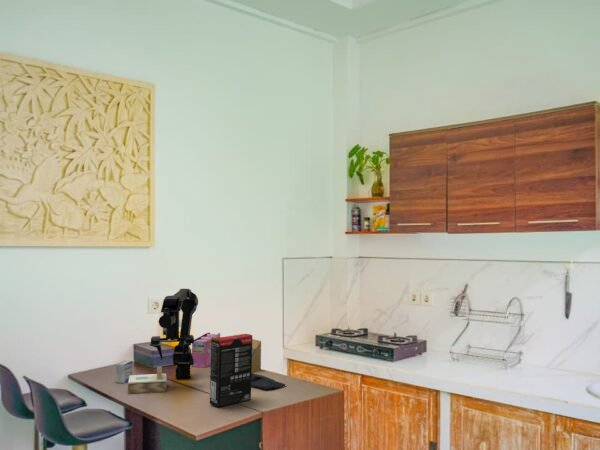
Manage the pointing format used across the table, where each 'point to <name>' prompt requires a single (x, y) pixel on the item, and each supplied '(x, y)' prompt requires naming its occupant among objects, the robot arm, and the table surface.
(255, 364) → the sandwich container
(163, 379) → the lid
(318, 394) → the table surface
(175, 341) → the robot arm
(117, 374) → the medicine box
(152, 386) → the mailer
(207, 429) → the table surface
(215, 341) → the graphics card box
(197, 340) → the gum box
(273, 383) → the dark slate chunk
